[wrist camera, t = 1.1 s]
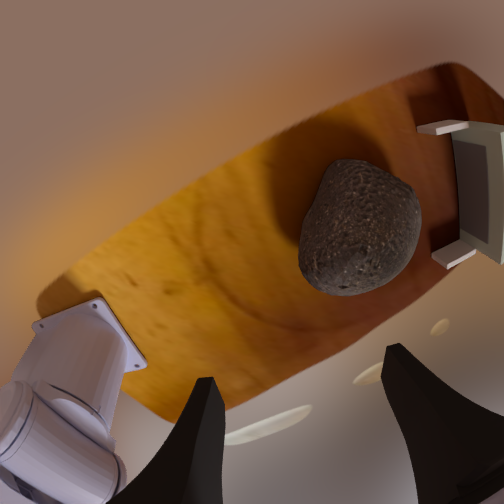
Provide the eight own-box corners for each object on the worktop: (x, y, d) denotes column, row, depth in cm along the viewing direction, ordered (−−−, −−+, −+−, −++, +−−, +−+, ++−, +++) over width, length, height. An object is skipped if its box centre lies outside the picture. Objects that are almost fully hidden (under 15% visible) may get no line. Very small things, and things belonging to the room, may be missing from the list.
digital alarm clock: (431, 257, 24) (478, 294, 18) (416, 126, 19) (479, 135, 13) (478, 233, 24) (524, 262, 18) (468, 115, 19) (526, 123, 13)
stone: (372, 160, 24) (338, 114, 16) (443, 226, 21) (452, 211, 12) (304, 240, 28) (241, 235, 20) (365, 308, 25) (327, 338, 16)
